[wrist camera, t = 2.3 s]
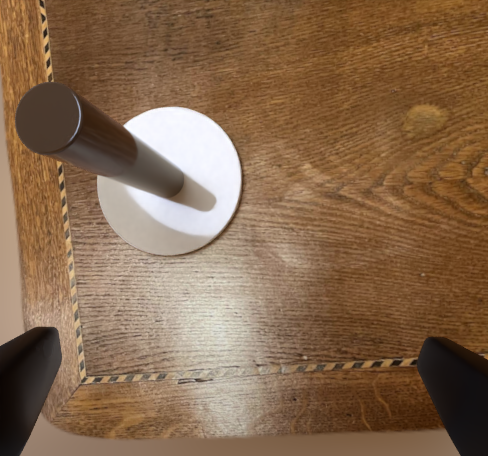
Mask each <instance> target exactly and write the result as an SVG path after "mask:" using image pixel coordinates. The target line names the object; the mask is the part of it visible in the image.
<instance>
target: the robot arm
mask: <svg viewBox="0 0 488 456" xmlns="http://www.w3.org/2000/svg"><path fill="white" fill-rule="evenodd" d="M61 360H62V353H61V346H60V339H59V333H58V330H57V329H56V328H55V327H35V328H33V329H31V330H29V331H27V332H25V333H24V334H22V335H20V336H18V337H16V338H14V339H12V340H11V341H9V342H7V343H5V344H3V345H1V346H0V456H20V454H21V452H22V450H23V448H24V446H25V444H26V442H27V440H28V439H29V437H30V434H31V432H32V430H33V428H34V426H35V423H36V421H37V419H38V416H39V414H40V412H41V410H42V407H43V405H44V403H45V400H46V398H47V396H48V393H49V391H50V389H51V386H52V384H53V382H54V379H55V377H56V375H57V372H58V370H59V368H60V365H61ZM417 369H418V372H419V374H420V376H421V378H422V380H423V382H424V385H425V387H426V389H427V391H428V393H429V395H430V397H431V399H432V401H433V403H434V405H435V408H436V410H437V412H438V414H439V416H440V418H441V420H442V422H443V424H444V426H445V428H446V430H447V432H448V434H449V436H450V438H451V440H452V441H453V443H454V445H455V447H456V448H457V450H458V452H459V454H460V455H461V456H488V360H487V359H485V358H483V357H481V356H480V355H478V354H476V353H474V352H472V351H470V350H468V349H466V348H464V347H462V346H461V345H459V344H457V343H455V342H453V341H451V340H449V339H447V338H444V337H428V338H427V339H425V341H424V344H423V346H422V349H421V352H420V354H419V357H418V360H417Z"/></svg>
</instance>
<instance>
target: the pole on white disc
mask: <svg viewBox="0 0 488 456" xmlns="http://www.w3.org/2000/svg"><path fill="white" fill-rule="evenodd" d="M15 127H16V131H17V134H18V136H19V138H20V140H21V141H22V142H23V144H24V145H25V146H26V147H27V148H28V149H30V150H31V151H33V152H35V153H38V154H40V155H43V156H46V157H49V158H52V159H54V160H57V161H60V162H63V163H66V164H68V165H71V166H74V167H77V168H80V169H83V170H85V171H88V172H91V173H94V174H97V175H98V177H97V191H98V198H99V202H100V206H101V209H102V211H103V214H104V216H105V218H106V220H107V221H108V223H109V225H110V226H111V227H112V229H113V230H114V231H115V232H116V233H117V234H118V235H119V236H120V237H121V238H122V239H123V240H124V241H125V242H127V243H128V244H130V245H131V246H133V247H135V248H137V249H139V250H141V251H144V252H146V253H150V254H154V255H163V256H170V255H180V254H186V253H189V252H192V251H195V250H197V249H199V248H202V247H204V246H205V245H207V244H208V243H210V242H212V241H213V240H214V239H215V238H216V237H218V236H219V235H220V234H221V233H222V232H223V230H224V229H225V228H226V227H227V226H228V224H229V223H230V221H231V220H232V218H233V216H234V214H235V212H236V210H237V207H238V205H239V202H240V198H241V193H242V184H243V179H242V168H241V163H240V159H239V156H238V153H237V151H236V149H235V147H234V145H233V143H232V141H231V140H230V138H229V136H228V135H227V134H226V133H225V131H224V130H223V129H222V128H221V127H220V126H219V125H218V124H217V123H216V122H214V121H213V120H212V119H210V118H209V117H207V116H205V115H203V114H201V113H199V112H197V111H194V110H191V109H186V108H181V107H162V108H157V109H152V110H149V111H147V112H144V113H142V114H140V115H138V116H136V117H134V118H133V119H131V120H130V121H128V122H127V123H126V124H124V125H123V126H122V125H121V124H120V123H118V122H117V121H115V120H114V119H113V118H111V117H110V116H109V115H107V114H106V113H104V112H103V111H102V110H100V109H99V108H98V107H96V106H95V105H93V104H92V103H91V102H89V101H88V100H87V99H85V98H84V97H82V96H81V95H80V94H78V93H77V92H76V91H74V90H73V89H71V88H70V87H69V86H67V85H65V84H62V83H58V82H45V83H41V84H38V85H36V86H34V87H33V88H31V89H30V90H29V91H28V92H26V93H25V95H24V96H23V97H22V99H21V100H20V102H19V104H18V107H17V110H16V114H15Z"/></svg>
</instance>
